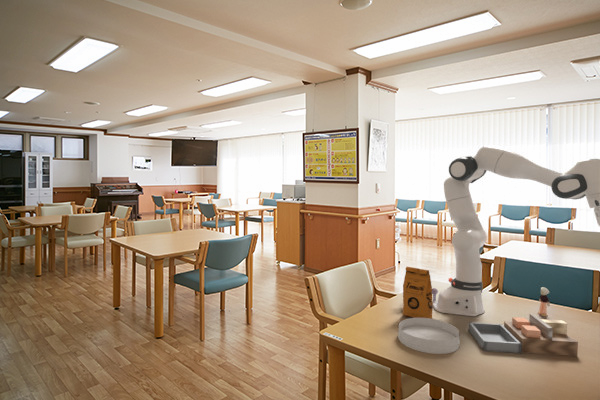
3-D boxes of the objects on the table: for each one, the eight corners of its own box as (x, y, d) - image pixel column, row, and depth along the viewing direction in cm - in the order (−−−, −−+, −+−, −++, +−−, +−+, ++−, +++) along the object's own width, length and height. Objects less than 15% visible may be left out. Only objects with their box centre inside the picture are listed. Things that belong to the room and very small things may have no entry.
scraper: (547, 339, 131) (548, 327, 130) (529, 323, 144) (529, 313, 144) (575, 340, 129) (576, 329, 129) (554, 325, 143) (554, 315, 143)
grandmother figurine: (533, 312, 172) (534, 285, 171) (540, 312, 172) (542, 285, 171) (545, 318, 164) (546, 290, 163) (553, 318, 164) (554, 290, 164)
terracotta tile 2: (517, 328, 140) (517, 321, 140) (512, 323, 145) (512, 317, 145) (529, 328, 140) (530, 322, 139) (524, 324, 144) (524, 317, 144)
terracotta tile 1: (526, 336, 132) (527, 330, 132) (521, 331, 137) (521, 325, 137) (540, 337, 132) (540, 330, 132) (534, 332, 136) (534, 325, 136)
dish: (429, 360, 126) (429, 345, 126) (385, 335, 145) (386, 323, 145) (473, 346, 136) (473, 333, 136) (427, 325, 156) (427, 314, 155)
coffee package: (425, 324, 157) (426, 272, 155) (399, 316, 165) (400, 267, 164) (436, 318, 163) (437, 268, 162) (410, 310, 172) (411, 264, 171)
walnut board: (521, 352, 131) (522, 338, 131) (503, 333, 147) (504, 321, 147) (577, 356, 129) (578, 342, 128) (553, 336, 144) (553, 324, 144)
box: (483, 350, 132) (483, 341, 132) (468, 330, 150) (468, 322, 150) (521, 353, 130) (521, 343, 130) (501, 332, 148) (501, 324, 148)
